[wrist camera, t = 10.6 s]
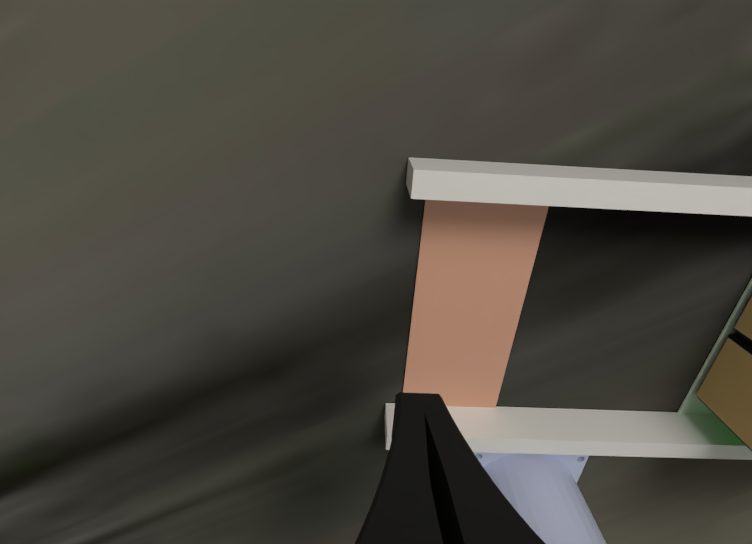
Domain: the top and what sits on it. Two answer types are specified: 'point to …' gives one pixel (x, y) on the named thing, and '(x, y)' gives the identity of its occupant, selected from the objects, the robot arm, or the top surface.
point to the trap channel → (506, 296)
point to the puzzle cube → (733, 380)
